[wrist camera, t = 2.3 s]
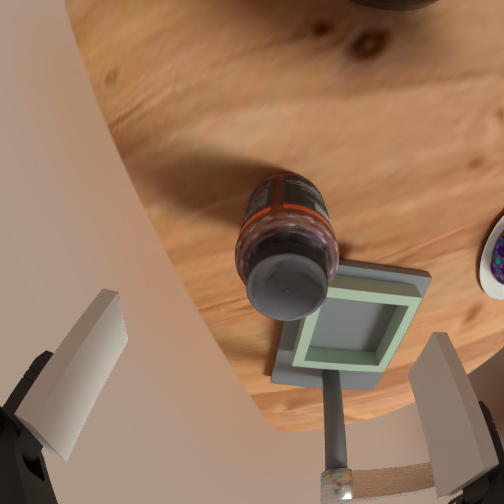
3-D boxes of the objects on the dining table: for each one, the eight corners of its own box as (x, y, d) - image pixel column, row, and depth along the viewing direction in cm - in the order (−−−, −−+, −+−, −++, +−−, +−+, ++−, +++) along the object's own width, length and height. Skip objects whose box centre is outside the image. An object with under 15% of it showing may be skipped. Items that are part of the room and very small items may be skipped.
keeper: (317, 477, 22) (316, 504, 19) (326, 468, 20) (326, 498, 18) (435, 466, 21) (439, 489, 18) (450, 455, 20) (455, 479, 17)
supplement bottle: (243, 231, 26) (214, 321, 16) (258, 163, 23) (234, 218, 13) (312, 247, 26) (322, 344, 16) (333, 182, 23) (366, 251, 13)
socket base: (297, 253, 26) (300, 377, 15) (428, 272, 25) (486, 377, 14) (270, 376, 34) (260, 476, 23) (371, 384, 34) (385, 476, 22)
